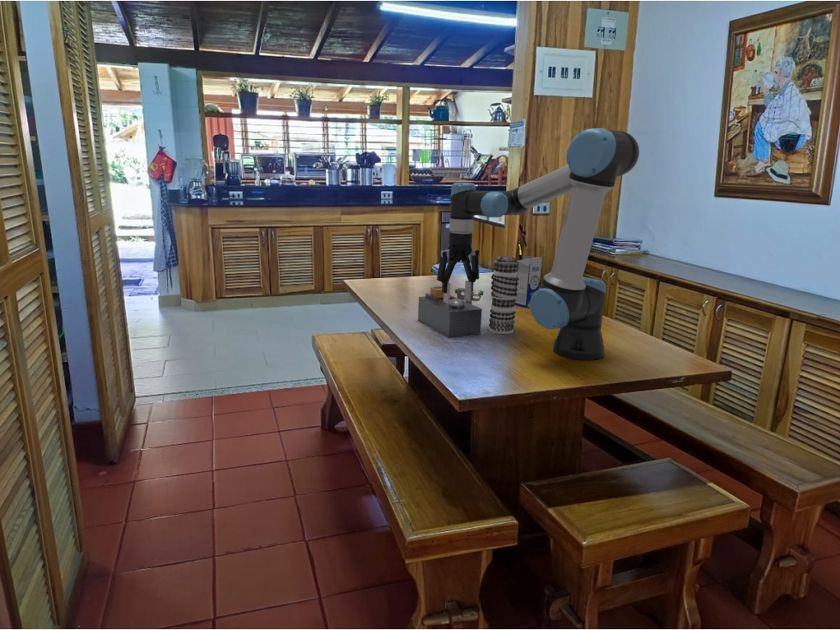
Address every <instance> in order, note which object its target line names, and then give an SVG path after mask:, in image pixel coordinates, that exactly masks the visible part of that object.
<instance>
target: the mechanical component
mask: <svg viewBox="0 0 840 630" xmlns="http://www.w3.org/2000/svg"><path fill="white" fill-rule="evenodd" d="M454 293H455V294H456V298H458V299H461V300H464V298H465V287H463V288H462V287H458V288H455V289H454ZM462 293H464V294H462ZM482 296H484V291H483V290H481V289H480V290H478V292H477V293H475V291H474V290H473V291H471V301H470V302H468V301H466V300H464V301H465V302H467V303H469V304H472V305H473V302H479V301H480V299H481V298H482ZM474 297H478V298H474Z"/></svg>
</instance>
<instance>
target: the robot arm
mask: <svg viewBox="0 0 840 630" xmlns="http://www.w3.org/2000/svg"><path fill="white" fill-rule="evenodd" d="M565 156H566V158H565V159H566V165H564V166H562V167H559V168H557V169H555V170H553V171H550V172H549V173H546V174H544V175H542V176H539V177H537V178H535V179H533V180H531V181H528V182H527V183H525V184H523V185H520V186H518V187H515V188H513V189H511V190H487V191H486V190H477V189H476V185H475V183H472V182H454V183H453V184H451V191H450V207H449V208H450V210H449V212H450V214H449V228H448V229H449V231H450V232H449V234H448V248H447V249H445V250H443V249H441V250H440V251H439V257H440V258H439V264H438V269H437V275H436V280H437V281H439V282H441V286H442V292H443V293H444V300H443V302H445V303H450V295H451V283H450V279H451V277H452V273H453V271H454V269H455V266H456V265H457V263H458V262H461V263H462V265H463V267H464V270H465V275H466V278H467V280H465V281H464V283H465V285H464V288H465V298H464V301H465V300H466V301H468V302H470V301H471V291H473V292H474V283H476V281H477V280H479V279H480V270H479V269H480V268H479V255H480V250H478V249H475V248H472V244H473V233H472V232H473V231H474V216H481V217H488V218H501V217H503V216H519V215H524V214H526V213H527V212H528V211H529V210H530V209H532V208H534V207H535V206H536V207H537V206H539V205H541V204H543V203H546V202H549V201H551V200H554V199H556V198H558V197H561V196H563V195H566V194H567V193H570V195H569V201H568V202H567V203H568V204H567V208H566V213H565V215H564V220H563V223H562V227H561V232H560V235H559V239H558V242H557V246H556V251H555V255H554V259H553V262H552V266H551V271H549V272H548V273H547V274H545V275H544V276H543V279H542V283H541V287H540V288H539V290H537V291H536V292H535V293H534V294H533V295H532V297H531V300H530V308H529V310H530V313H531V316H533V319H534V320H535V322H536V323H537V324H538V325H540V326H541V327H542V328H544V329H547V330H548V329H549V330H555V329H557V330H559V331H558V332H557V335H556V339H554V341H553V344H552V351H553V352H554V353H555V354H557V355H558V356H562V357H564V358H569V359H573V360H580V361H581V360H582V361H594V360H595V361H596V360H600V359H603V358H604V355H605V349H606V348H605V345H604V339H603V334H602V323H603V316H604V310H605V308H604V307H605V300H606V295H607V291H606V290H607V288H606V287H607V285H606V283H605V282H604V281H603V280H600V279H596V278H591V277H584V274H585V269H586V266H587V262H588V259H589V258H588V257H589V255H590V251H591V247H592V244H593V240H594V237H595V235H596V234H595V233H596V231H597V227H598V222H599V219H600V215H601V212H602V208H603V204H604V201H605V197H606V194H607V193H608V192H609V191H611V190H612V189H614V188H615V185H616V181H617V178H618V177H621V176H625V175H626V174H627V173H629V172H630V171H631V170H632V169H634V167H635V166H636V164H637V163H638V161H639V156H640V145H639V143H638V142H637V140H636V139H635V137H634V136H633V135H632V134H630V133H629V132H626V131H623V130H616V129H615V130H613V129H606V128H604V127H600V128H599V127H596V128H588V129H584V130H582V131H581V132H579V133H577V134H576V135H575V136H574V137H573V138H572V139H571V141H570V143H569V145H568V147H567V149H566V155H565ZM448 257H449V258H448ZM599 358H600V359H599Z"/></svg>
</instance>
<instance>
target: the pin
mask: <svg viewBox="0 0 840 630" xmlns="http://www.w3.org/2000/svg"><path fill="white" fill-rule="evenodd" d="M449 307H452V308H464V307H465V300H461V299H451V300H450V303H449Z"/></svg>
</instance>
